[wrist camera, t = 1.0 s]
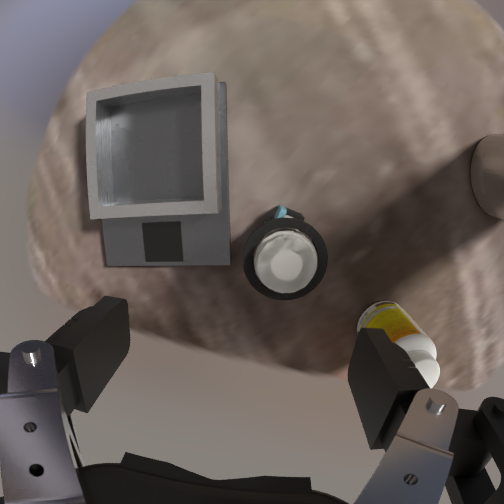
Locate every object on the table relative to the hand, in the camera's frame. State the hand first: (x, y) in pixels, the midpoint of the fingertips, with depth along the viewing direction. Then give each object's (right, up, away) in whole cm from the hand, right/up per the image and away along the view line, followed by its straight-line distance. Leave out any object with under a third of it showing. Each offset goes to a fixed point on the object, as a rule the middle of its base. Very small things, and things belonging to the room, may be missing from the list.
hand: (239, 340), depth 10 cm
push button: (+3, +4, +19) cm, 19 cm away
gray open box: (-8, +10, +17) cm, 21 cm away
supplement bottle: (+14, -4, +21) cm, 25 cm away
